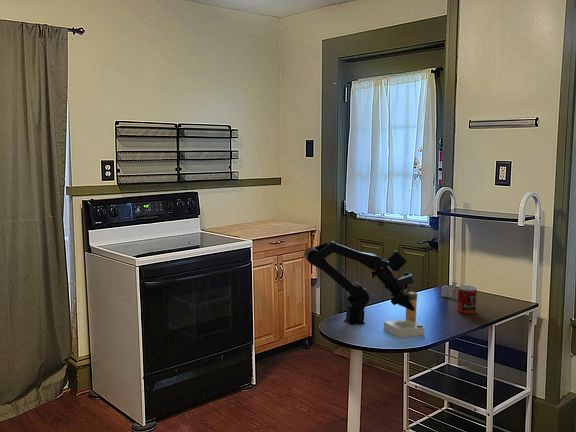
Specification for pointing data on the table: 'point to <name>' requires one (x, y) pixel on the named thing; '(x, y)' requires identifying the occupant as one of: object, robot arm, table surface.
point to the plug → (413, 299)
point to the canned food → (466, 299)
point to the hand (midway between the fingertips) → (414, 309)
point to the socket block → (404, 328)
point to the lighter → (447, 290)
